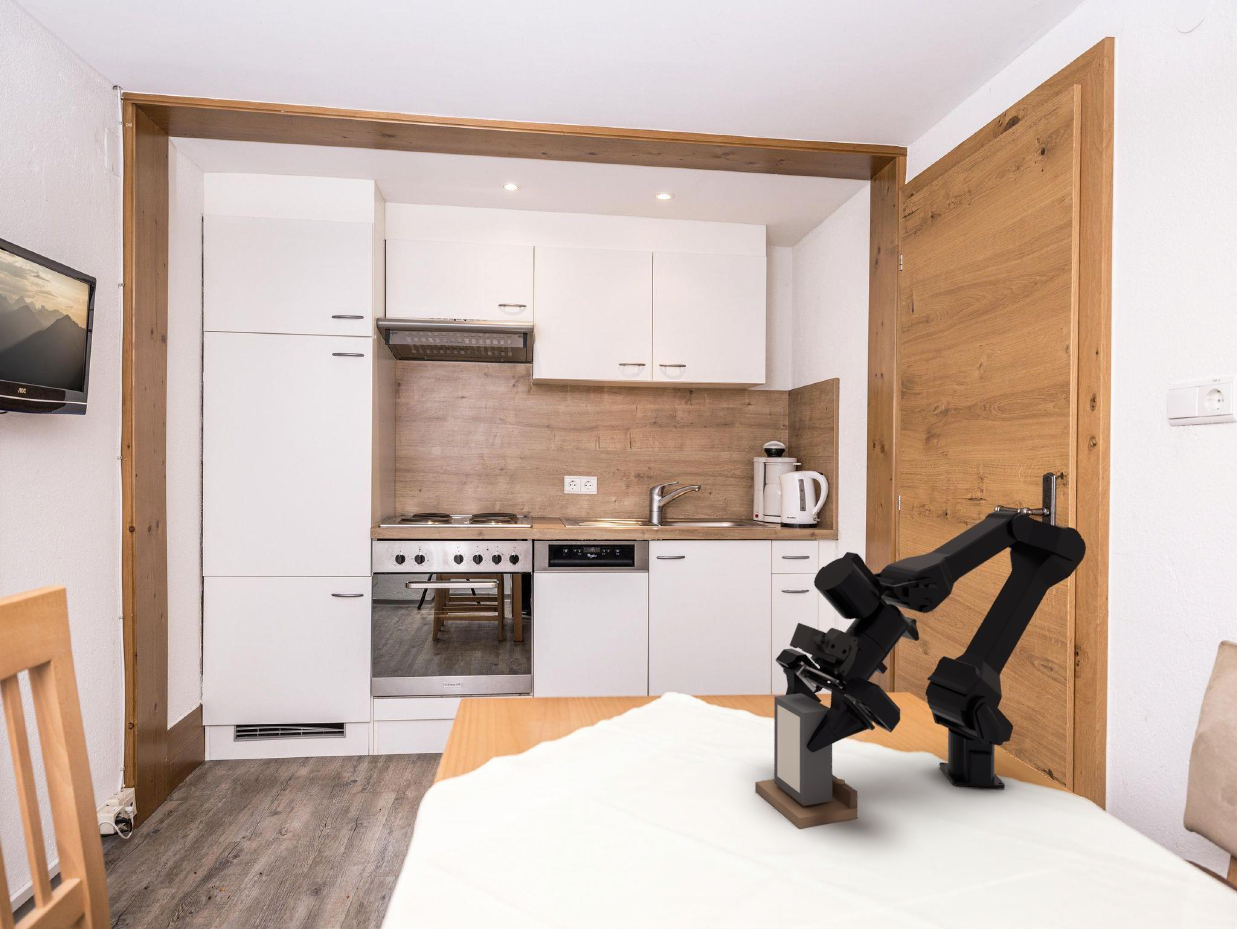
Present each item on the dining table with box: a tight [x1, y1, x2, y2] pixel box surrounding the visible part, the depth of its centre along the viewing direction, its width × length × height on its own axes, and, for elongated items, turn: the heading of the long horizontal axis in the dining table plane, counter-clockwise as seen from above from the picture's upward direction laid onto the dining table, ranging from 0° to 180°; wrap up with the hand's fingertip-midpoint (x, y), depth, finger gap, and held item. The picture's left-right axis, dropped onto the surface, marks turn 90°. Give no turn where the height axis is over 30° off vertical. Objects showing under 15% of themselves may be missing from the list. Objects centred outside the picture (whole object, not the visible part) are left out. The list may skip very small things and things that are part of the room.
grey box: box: [773, 693, 833, 806], centre depth 87 cm, size 4×6×11 cm, turn 19°
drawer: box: [754, 774, 858, 829], centre depth 87 cm, size 8×10×4 cm
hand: (792, 739), depth 87 cm, fingers closed on grey box, 6 cm apart
